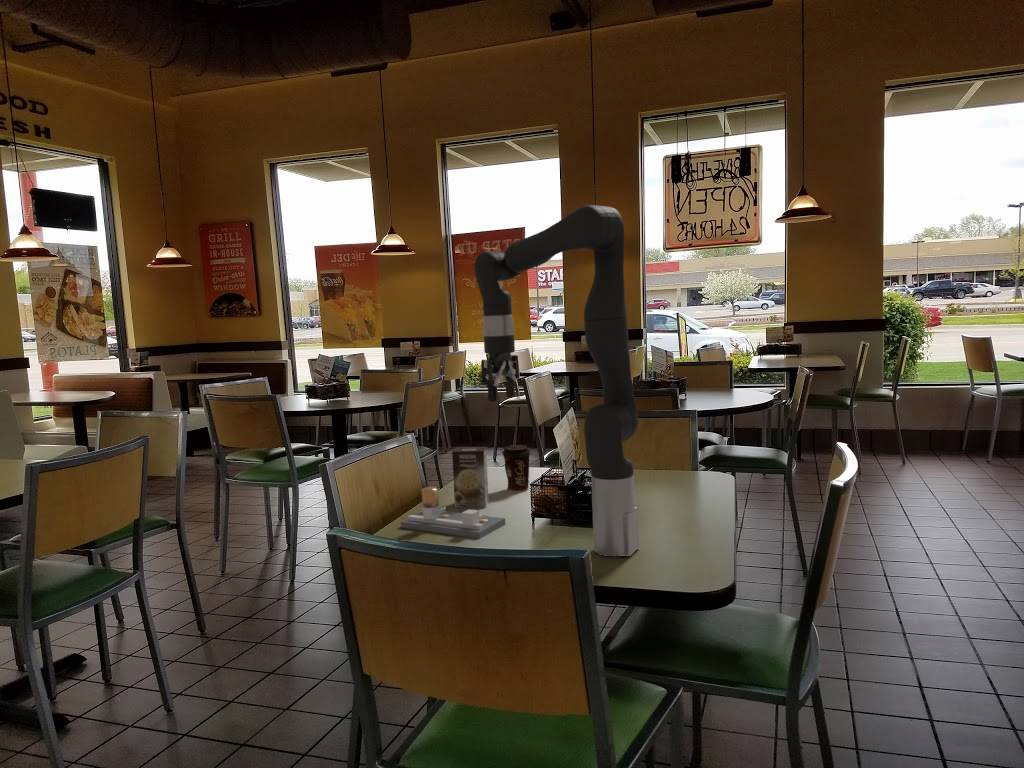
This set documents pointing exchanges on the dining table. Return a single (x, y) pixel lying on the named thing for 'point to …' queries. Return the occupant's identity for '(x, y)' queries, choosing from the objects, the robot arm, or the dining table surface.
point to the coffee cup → (517, 467)
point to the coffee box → (470, 477)
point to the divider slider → (431, 503)
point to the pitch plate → (456, 523)
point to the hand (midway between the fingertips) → (502, 399)
